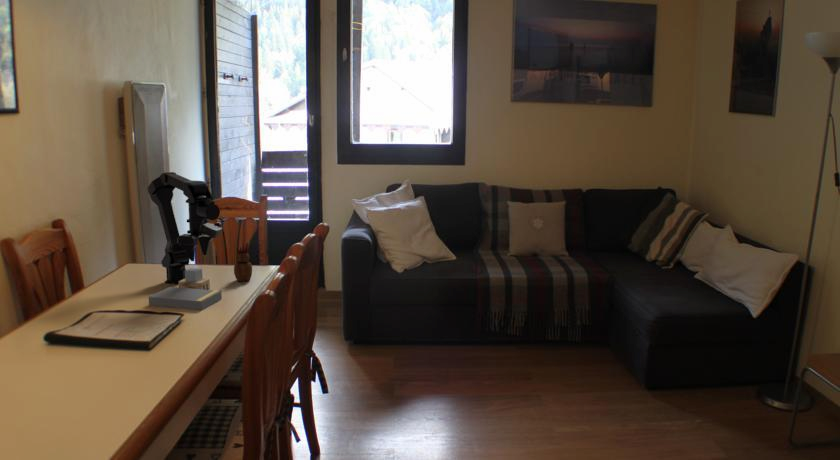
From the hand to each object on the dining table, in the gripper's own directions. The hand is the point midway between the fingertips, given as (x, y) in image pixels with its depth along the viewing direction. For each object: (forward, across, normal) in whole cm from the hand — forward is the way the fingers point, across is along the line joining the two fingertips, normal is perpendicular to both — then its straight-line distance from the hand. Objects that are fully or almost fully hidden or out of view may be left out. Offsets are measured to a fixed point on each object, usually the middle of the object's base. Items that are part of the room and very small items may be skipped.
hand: (198, 258), depth 250 cm
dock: (+12, -15, -3) cm, 20 cm away
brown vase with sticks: (+12, +15, -10) cm, 22 cm away
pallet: (+12, -1, +2) cm, 12 cm away
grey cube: (+8, -1, +2) cm, 8 cm away
